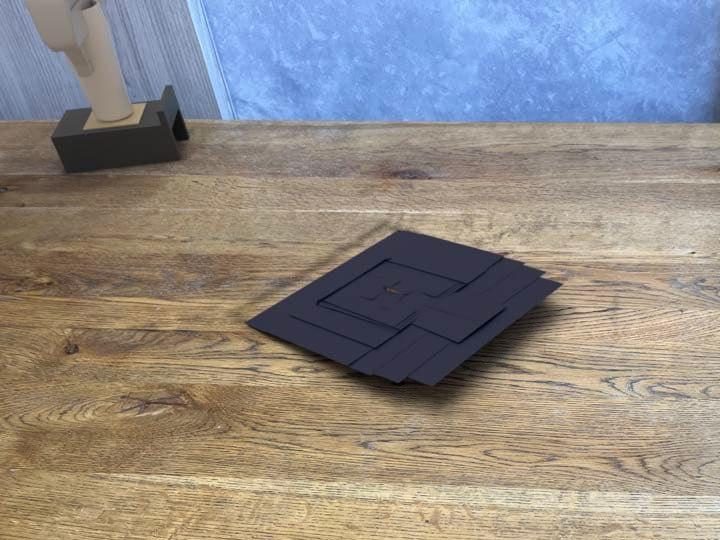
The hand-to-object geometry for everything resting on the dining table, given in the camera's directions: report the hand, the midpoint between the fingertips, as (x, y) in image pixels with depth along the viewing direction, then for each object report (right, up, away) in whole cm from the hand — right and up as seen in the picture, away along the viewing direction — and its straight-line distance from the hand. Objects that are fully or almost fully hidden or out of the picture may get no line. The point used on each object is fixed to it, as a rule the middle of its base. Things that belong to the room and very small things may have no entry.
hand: (94, 63), depth 114 cm
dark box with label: (+1, -10, +9) cm, 14 cm away
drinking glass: (0, -6, +5) cm, 8 cm away
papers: (+47, -38, -23) cm, 65 cm away
